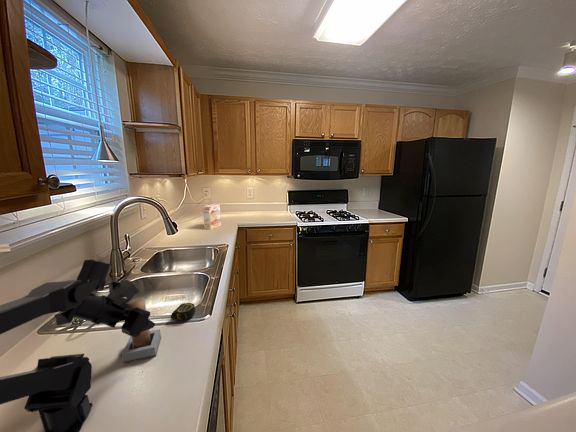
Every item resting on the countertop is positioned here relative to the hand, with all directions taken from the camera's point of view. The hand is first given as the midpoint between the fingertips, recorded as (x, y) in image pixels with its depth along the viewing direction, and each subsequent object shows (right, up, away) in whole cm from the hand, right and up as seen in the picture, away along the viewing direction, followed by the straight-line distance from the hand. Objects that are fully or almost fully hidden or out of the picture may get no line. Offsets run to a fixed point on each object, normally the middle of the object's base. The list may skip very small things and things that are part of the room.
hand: (143, 321), depth 71 cm
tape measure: (+5, -6, +16) cm, 18 cm away
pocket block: (0, -9, +1) cm, 9 cm away
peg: (0, -8, 0) cm, 8 cm away
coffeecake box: (-23, +21, +140) cm, 144 cm away
